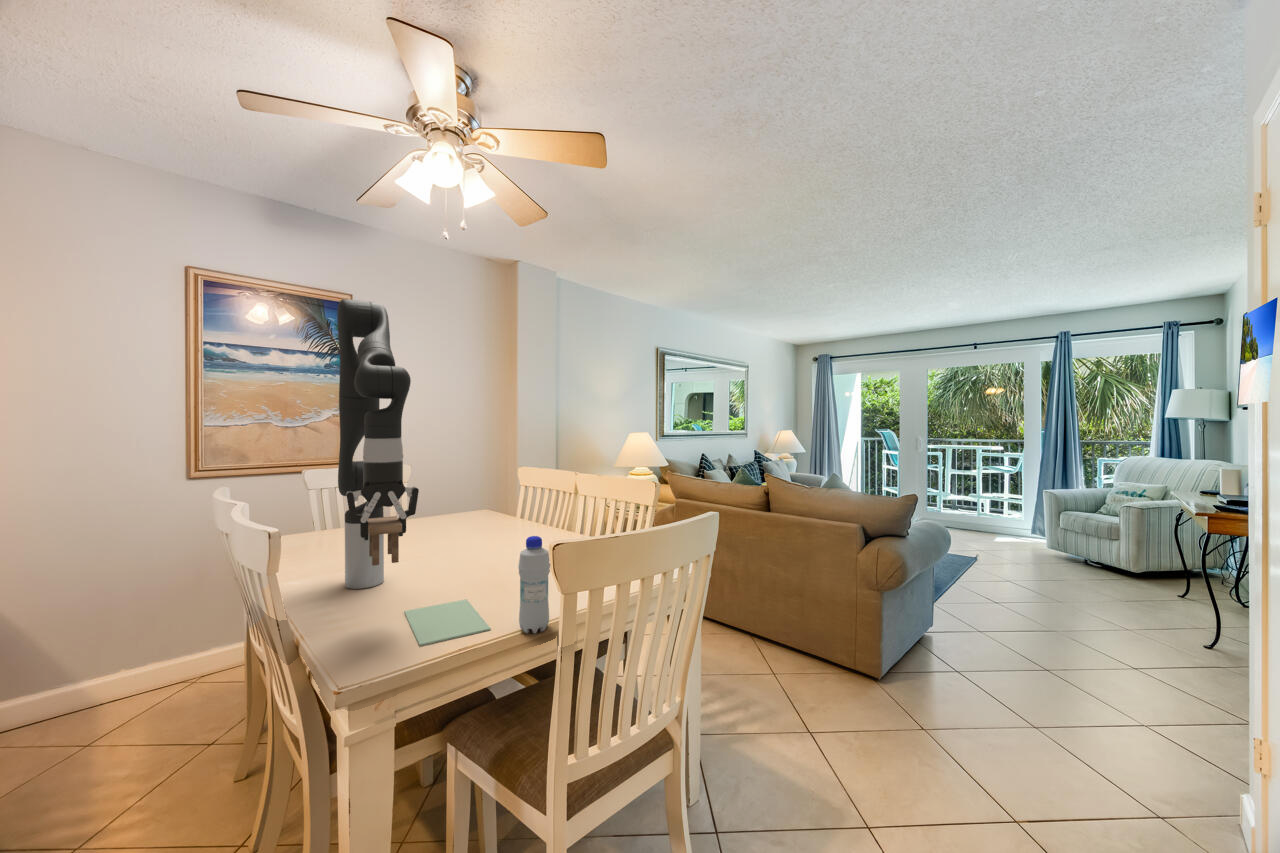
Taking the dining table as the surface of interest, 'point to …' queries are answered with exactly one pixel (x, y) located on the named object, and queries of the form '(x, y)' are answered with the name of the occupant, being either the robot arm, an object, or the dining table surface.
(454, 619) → the mat
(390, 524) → the stool
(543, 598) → the bottle
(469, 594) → the dining table surface
